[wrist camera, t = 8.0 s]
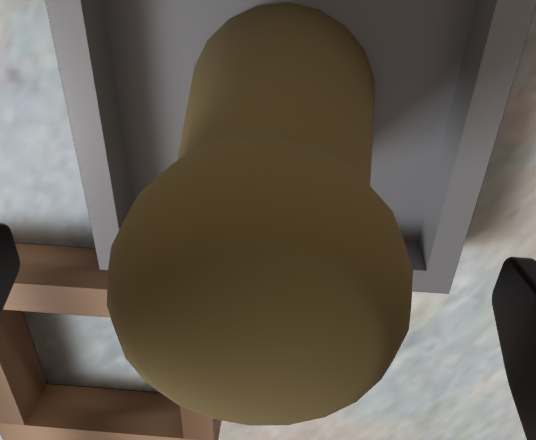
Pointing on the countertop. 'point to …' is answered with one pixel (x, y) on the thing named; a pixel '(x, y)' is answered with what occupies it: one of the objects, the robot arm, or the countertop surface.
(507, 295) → the robot arm
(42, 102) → the countertop surface
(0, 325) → the pin holder
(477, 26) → the tray
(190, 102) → the cork
